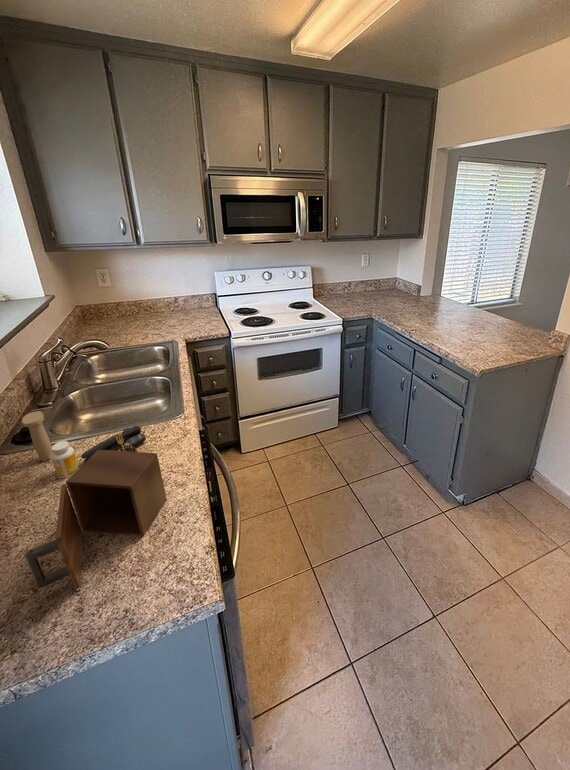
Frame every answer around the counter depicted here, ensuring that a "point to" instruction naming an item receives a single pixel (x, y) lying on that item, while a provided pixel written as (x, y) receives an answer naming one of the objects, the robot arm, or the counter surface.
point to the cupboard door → (61, 546)
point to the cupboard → (118, 492)
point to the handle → (38, 434)
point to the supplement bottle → (64, 459)
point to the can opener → (111, 443)
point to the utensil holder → (129, 449)
